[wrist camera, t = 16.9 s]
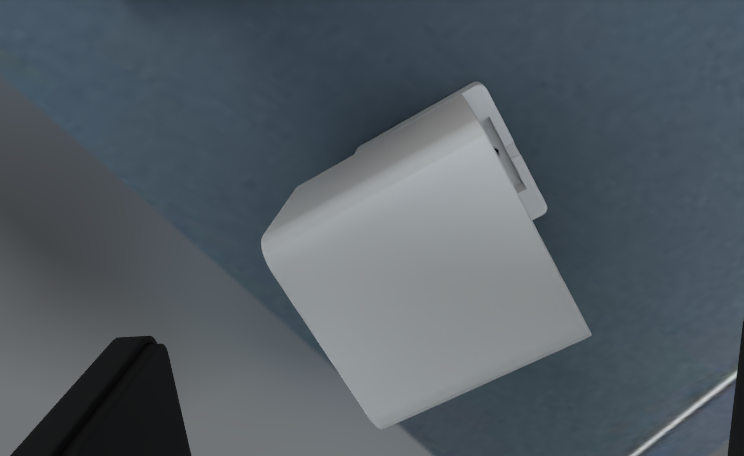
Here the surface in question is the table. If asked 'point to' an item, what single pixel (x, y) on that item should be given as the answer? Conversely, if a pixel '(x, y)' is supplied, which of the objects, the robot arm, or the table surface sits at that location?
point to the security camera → (424, 261)
